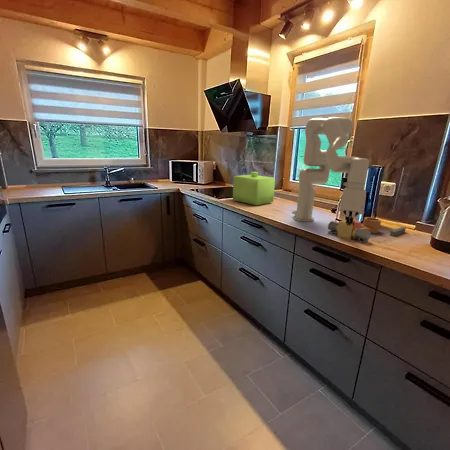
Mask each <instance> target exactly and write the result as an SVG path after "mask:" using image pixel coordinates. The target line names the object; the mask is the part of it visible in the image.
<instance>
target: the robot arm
mask: <svg viewBox="0 0 450 450" xmlns="http://www.w3.org/2000/svg"><path fill="white" fill-rule="evenodd" d="M304 129H305V130H304V131H305V133H304V134H305V146H304V156H303V164H304V165H305V166H307V167H309V168H303V169H302V170H300V171H299V173H298V195H297V196H298V197H297V202H296V203H297V204H296V210H292V212H291V214H293V216H292V217H293V220H294V221H298V222H302V223H303V222H304V223H306V222H307V223H311V222H314V221H315V218H314V217H313V210H314V202H315V195H316V194H315V193H316V192H315V189H314V187H313V185H318V186H319V185H324V184H326V183H327V182H328V181H329V176H330V171H331V172H333V173H341V174H342V173H343V174H344V173H345V174H347V181H346V182H343V183H342V185H343V186H345V188H343V190H342V194H341V197H340V198H341V199H340V203H339V208H338V212H340V213H343V214H344V216H346V219H345V220H346V223H347V225H349V226H350V225H351V224H352V223H353V218H355V217H357V216H359V215H364V213H365V205H366V198H367V190H366V189H365V187H366V182H367V178H368V177H367V176H368V171H369V166H370V165H369V164H370V160H369V158H364V157H358V156H350V155H349V156H348V155H347V156H346V155H340V156H339V155H338V153H337V150H340V149H342V148H343V147H344V146H346V145H347V144H348V141H349V137H348V136H347V135H349V134H350V133H351V132H352V130H353V122H352V119H350V118H349V117H340V116H331V117H328V118H326V117H325V118H323V117H314V118H311V119H309V120H308V121H307V122H306V125H305V128H304ZM321 135H324V136H325V137H326V139H327V141H328V144H329V146H328V147H327V149H325V150H324V149H321V146H322V140H321V138H320V136H321ZM310 167H318V168H310ZM350 212H352V214H351V215H350ZM349 220H350V221H349Z"/></svg>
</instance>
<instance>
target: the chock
mask: <svg viewBox="0 0 450 450" xmlns="http://www.w3.org/2000/svg"><path fill="white" fill-rule="evenodd" d="M406 229H407V228H406V227H404V226H401V227H397V228H395V229H392V230H390V233H389V234H390V235H389V236H391V237H396V236H399V235H402V234H404V233H405V232H406Z"/></svg>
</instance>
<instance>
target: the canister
mask: <svg viewBox="0 0 450 450" xmlns="http://www.w3.org/2000/svg"><path fill="white" fill-rule="evenodd" d="M275 185H276V178H275V177H271V176H265V175H259V172H257V171H250V174H242V175H234V176H233V181H232V186H233V187H232V201H236V202H241V203H245V204H249V205H252V206H253V205H254V206H260V205H264V204H269V203H273V202H274V197H275V196H274V195H275Z"/></svg>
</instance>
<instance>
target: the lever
mask: <svg viewBox="0 0 450 450" xmlns="http://www.w3.org/2000/svg"><path fill="white" fill-rule="evenodd" d="M349 221H350V220H349ZM361 224H362V222H361V221H358V219H357V218H355V217H354V218H353V223H352V225H353V227H354V228H360V227H361Z"/></svg>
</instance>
